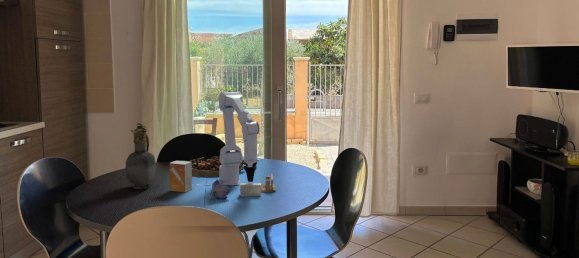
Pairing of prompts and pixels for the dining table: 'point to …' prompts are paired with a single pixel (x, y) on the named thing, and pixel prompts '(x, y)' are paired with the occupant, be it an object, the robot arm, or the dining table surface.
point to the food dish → (209, 167)
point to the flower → (219, 190)
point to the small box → (180, 176)
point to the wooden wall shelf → (268, 185)
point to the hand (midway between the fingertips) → (250, 179)
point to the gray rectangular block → (250, 189)
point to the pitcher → (140, 160)
